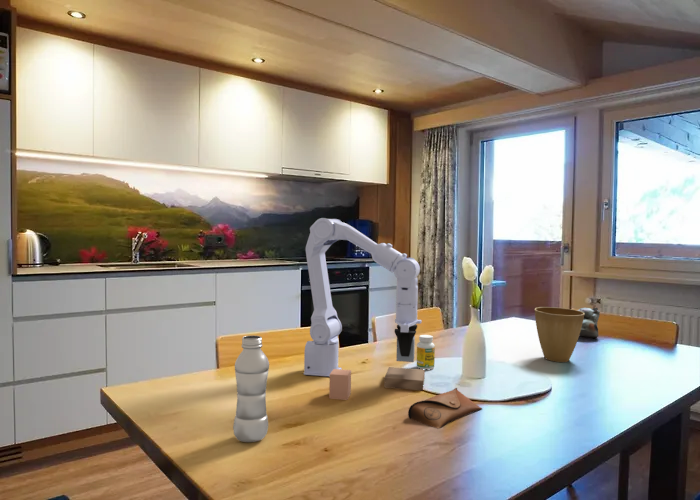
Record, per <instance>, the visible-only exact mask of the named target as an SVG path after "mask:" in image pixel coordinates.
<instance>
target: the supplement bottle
mask: <svg viewBox="0 0 700 500" xmlns="http://www.w3.org/2000/svg"><path fill="white" fill-rule="evenodd" d="M433 338H434V336H433V335H430V334H421V335H419V338H418V340H419V342H417V344H416V367H418V368H417V369H419V368H420V369H427V370H426V371H429V370H428V369H431V370H434V368H435V358H436V356H435V353H436V352H435V351H436V350H435V349H436V346H435V343H434V342H433V340H434V339H433Z"/></svg>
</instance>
